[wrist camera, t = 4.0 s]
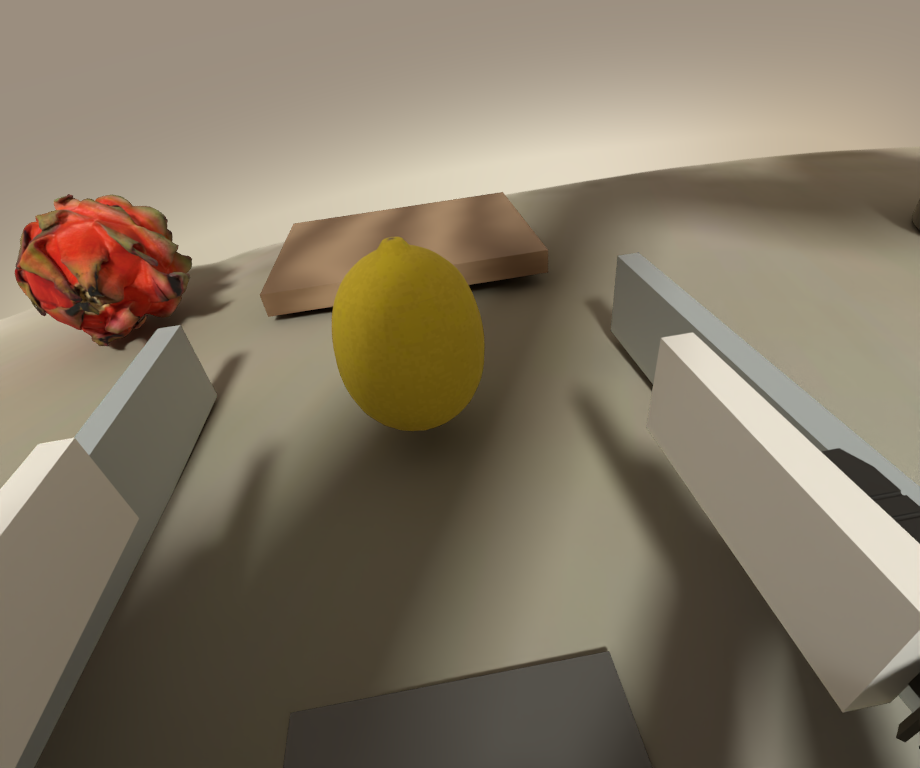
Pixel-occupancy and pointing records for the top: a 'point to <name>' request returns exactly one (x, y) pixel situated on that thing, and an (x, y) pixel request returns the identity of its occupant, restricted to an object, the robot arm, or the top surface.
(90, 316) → the dragon fruit
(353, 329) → the lemon
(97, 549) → the robot arm
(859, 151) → the top surface
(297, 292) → the board
